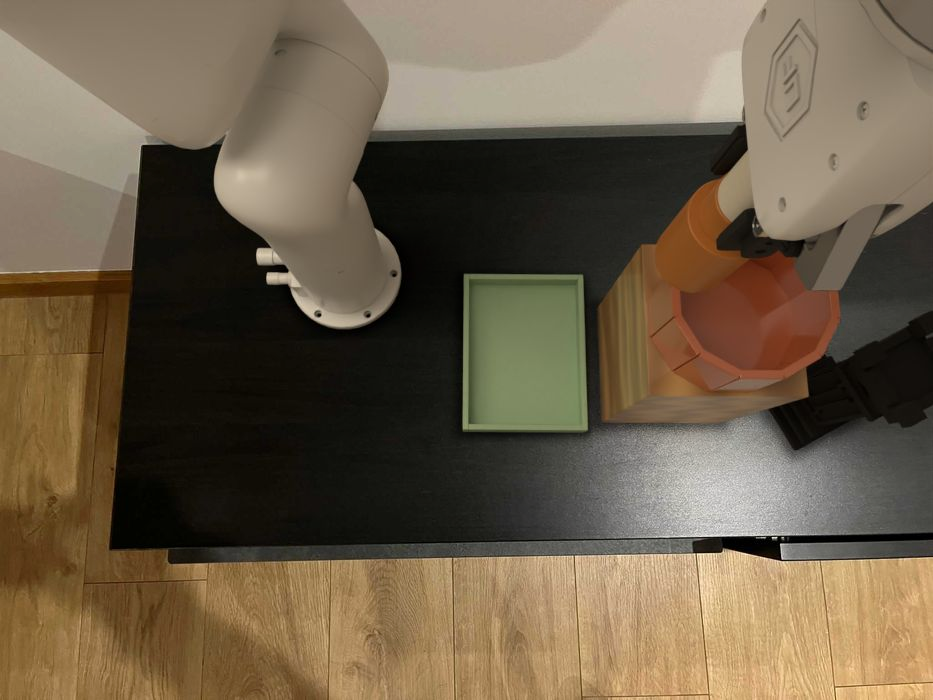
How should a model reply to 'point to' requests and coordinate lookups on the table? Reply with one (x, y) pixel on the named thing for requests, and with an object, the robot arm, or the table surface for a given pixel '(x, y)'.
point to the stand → (662, 364)
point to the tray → (524, 353)
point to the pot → (743, 326)
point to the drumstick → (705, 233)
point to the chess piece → (865, 386)
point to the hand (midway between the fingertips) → (742, 205)
